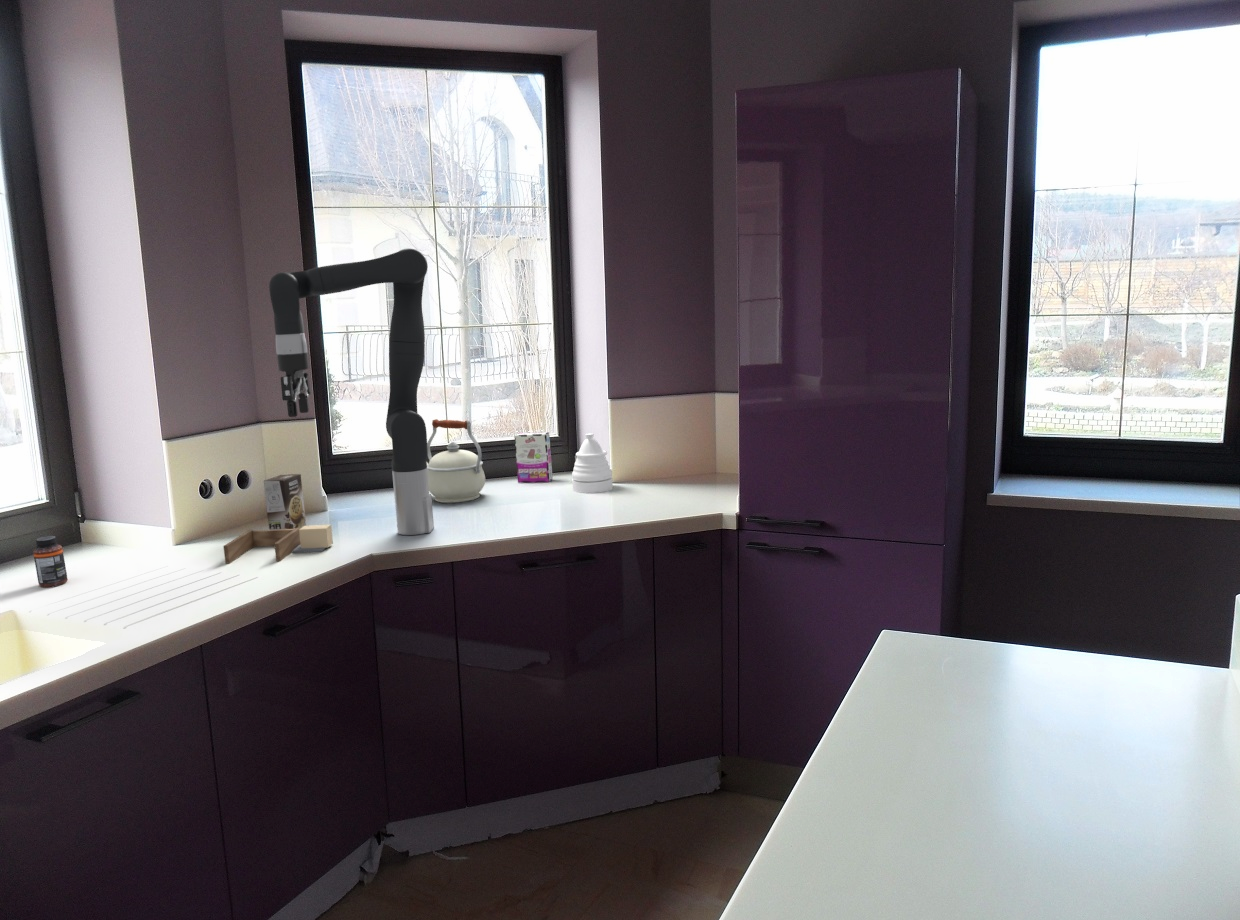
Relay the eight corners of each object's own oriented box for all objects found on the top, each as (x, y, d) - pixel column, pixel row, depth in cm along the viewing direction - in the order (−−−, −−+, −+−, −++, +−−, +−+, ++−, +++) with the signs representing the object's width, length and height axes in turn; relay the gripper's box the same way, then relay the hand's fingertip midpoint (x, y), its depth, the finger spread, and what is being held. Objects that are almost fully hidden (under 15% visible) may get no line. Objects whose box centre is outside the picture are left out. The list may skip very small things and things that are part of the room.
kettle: (502, 494, 296) (497, 416, 292) (463, 507, 281) (457, 425, 277) (444, 489, 309) (438, 414, 305) (404, 500, 294) (396, 422, 290)
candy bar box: (553, 479, 317) (550, 431, 314) (549, 482, 312) (546, 433, 309) (521, 479, 319) (517, 432, 316) (517, 482, 314) (513, 434, 311)
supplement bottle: (47, 581, 223) (39, 535, 221) (72, 579, 223) (65, 533, 221) (33, 589, 217) (25, 541, 215) (60, 587, 217) (52, 540, 215)
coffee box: (290, 538, 253) (283, 480, 250) (268, 538, 254) (262, 480, 252) (307, 529, 262) (301, 473, 259) (287, 529, 263) (280, 473, 260)
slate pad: (330, 543, 245) (330, 541, 245) (321, 551, 238) (321, 549, 237) (302, 545, 245) (302, 542, 245) (292, 553, 238) (292, 550, 238)
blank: (306, 544, 243) (304, 525, 242) (333, 543, 243) (331, 524, 242) (301, 548, 239) (299, 529, 238) (328, 547, 239) (326, 528, 238)
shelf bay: (303, 543, 247) (301, 526, 246) (280, 561, 231) (278, 543, 230) (252, 545, 247) (250, 529, 247) (225, 563, 231) (223, 546, 230)
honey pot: (612, 492, 292) (609, 435, 289) (571, 493, 293) (568, 437, 289) (613, 483, 305) (610, 429, 302) (573, 485, 305) (570, 431, 302)
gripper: (297, 352, 232) (304, 417, 235) (315, 349, 246) (322, 410, 249) (267, 354, 232) (274, 419, 235) (287, 351, 246) (294, 411, 249)
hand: (298, 414), depth 242 cm, fingers open, 8 cm apart
